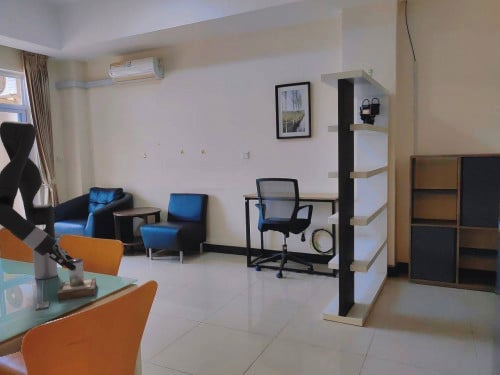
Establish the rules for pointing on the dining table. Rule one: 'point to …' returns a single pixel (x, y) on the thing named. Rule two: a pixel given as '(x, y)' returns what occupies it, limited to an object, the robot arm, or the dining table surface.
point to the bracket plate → (42, 305)
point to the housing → (76, 273)
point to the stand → (77, 290)
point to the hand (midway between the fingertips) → (74, 265)
